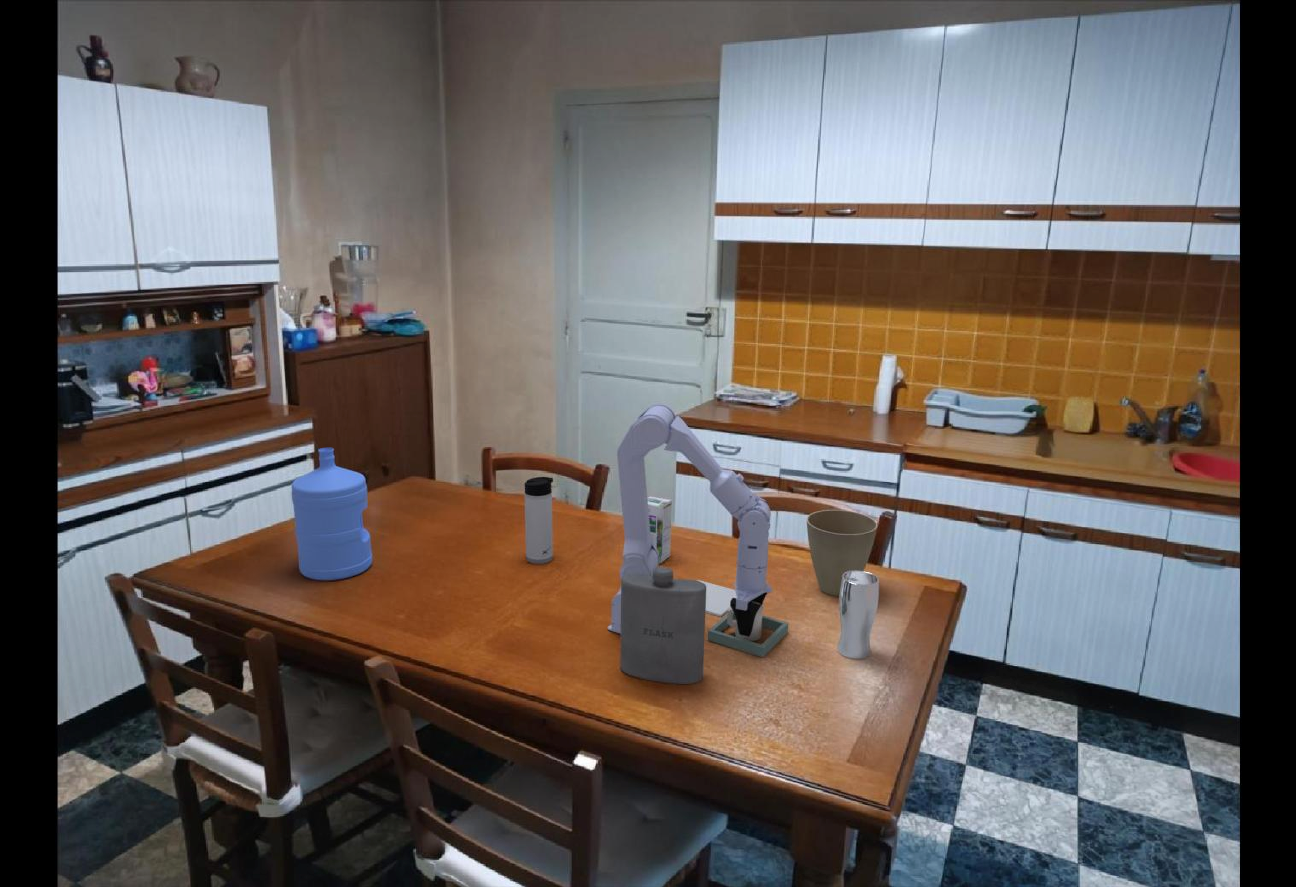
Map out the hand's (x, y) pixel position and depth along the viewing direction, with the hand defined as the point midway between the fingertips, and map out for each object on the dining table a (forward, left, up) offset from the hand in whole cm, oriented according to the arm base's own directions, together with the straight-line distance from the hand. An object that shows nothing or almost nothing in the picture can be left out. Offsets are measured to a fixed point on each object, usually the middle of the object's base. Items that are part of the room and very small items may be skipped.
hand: (748, 628), depth 154 cm
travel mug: (+6, +57, -2) cm, 57 cm away
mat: (+10, +14, -2) cm, 17 cm away
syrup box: (+22, +35, -2) cm, 41 cm away
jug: (0, 0, -1) cm, 1 cm away
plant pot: (+30, -7, -2) cm, 31 cm away
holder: (0, 0, -2) cm, 2 cm away
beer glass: (+6, -19, -2) cm, 20 cm away
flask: (-21, +7, -2) cm, 22 cm away
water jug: (-24, +92, -2) cm, 95 cm away
